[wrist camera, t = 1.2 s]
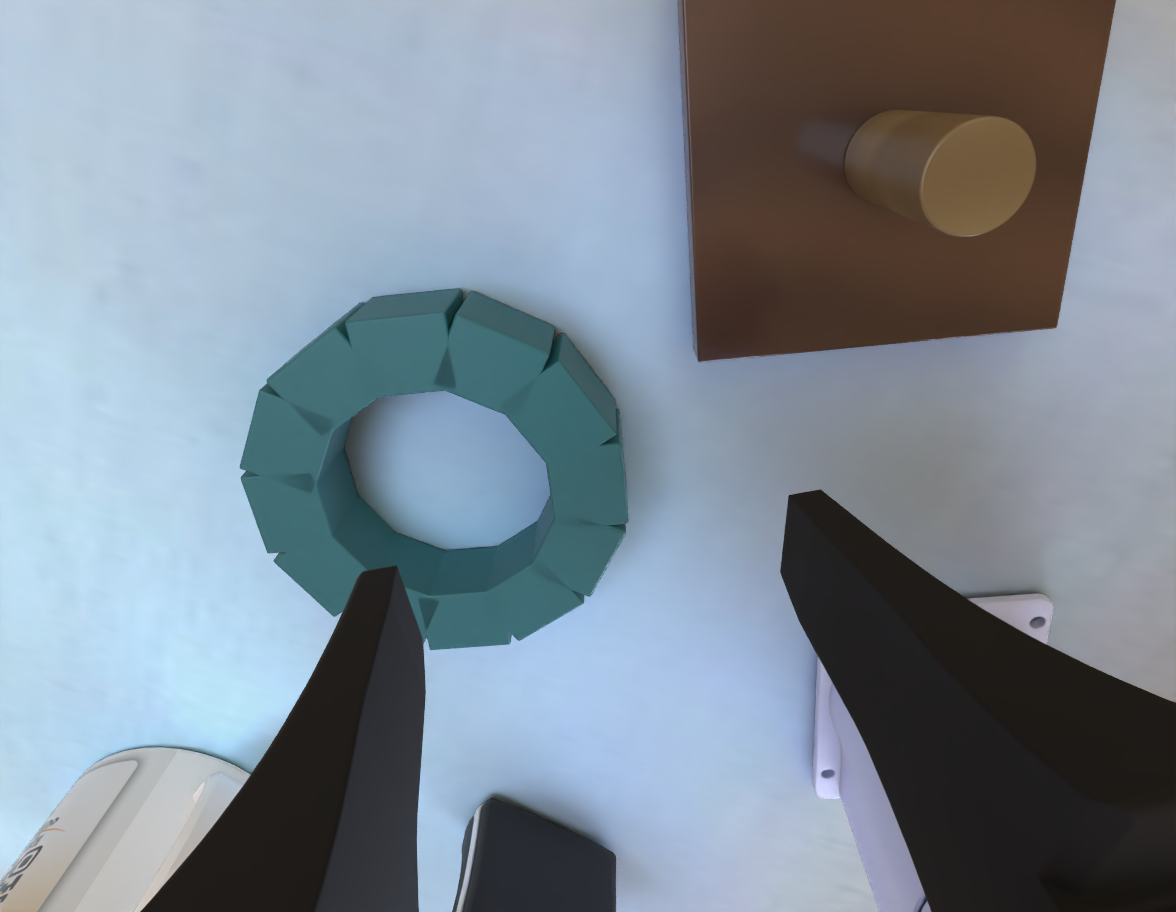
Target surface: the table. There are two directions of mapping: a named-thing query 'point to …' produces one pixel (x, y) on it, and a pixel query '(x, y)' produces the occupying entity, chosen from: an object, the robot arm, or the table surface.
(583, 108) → the table surface
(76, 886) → the mug
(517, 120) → the table surface
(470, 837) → the battery charger
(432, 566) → the ring
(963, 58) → the stand
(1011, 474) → the table surface
